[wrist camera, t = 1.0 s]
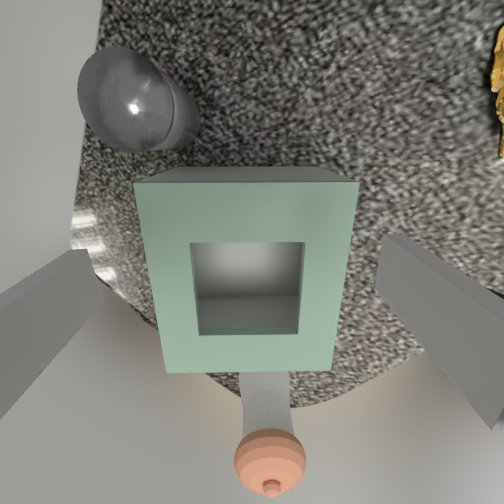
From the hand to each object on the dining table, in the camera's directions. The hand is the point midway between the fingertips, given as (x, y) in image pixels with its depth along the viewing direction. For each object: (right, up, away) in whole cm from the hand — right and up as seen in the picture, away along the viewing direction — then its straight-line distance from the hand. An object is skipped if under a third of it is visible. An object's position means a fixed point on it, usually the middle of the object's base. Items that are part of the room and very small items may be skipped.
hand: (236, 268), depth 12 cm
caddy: (0, +2, +22) cm, 22 cm away
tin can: (-8, +15, +16) cm, 24 cm away
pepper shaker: (+2, -13, +29) cm, 32 cm away
